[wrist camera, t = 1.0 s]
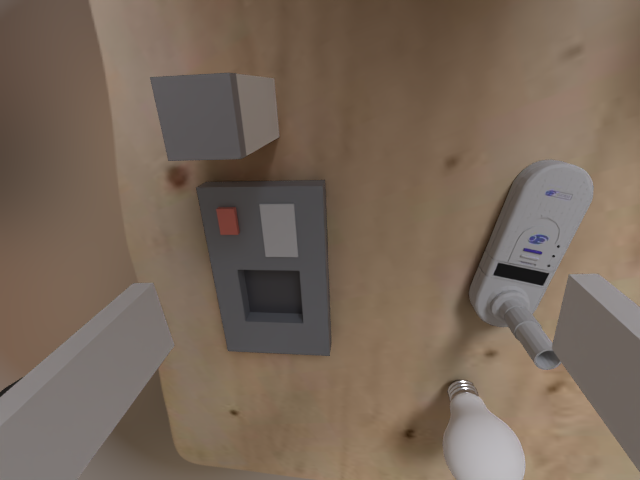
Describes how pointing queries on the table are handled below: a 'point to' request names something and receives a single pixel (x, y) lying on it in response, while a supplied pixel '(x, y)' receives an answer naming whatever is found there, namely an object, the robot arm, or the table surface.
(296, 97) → the table surface
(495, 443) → the light bulb
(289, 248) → the socket block
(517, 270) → the electronic device
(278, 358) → the table surface
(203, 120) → the plug
